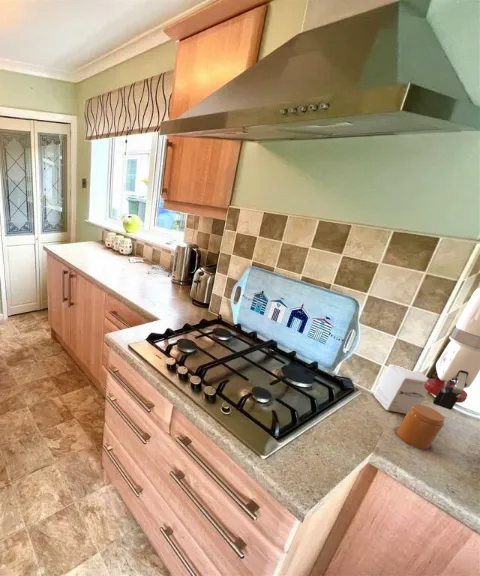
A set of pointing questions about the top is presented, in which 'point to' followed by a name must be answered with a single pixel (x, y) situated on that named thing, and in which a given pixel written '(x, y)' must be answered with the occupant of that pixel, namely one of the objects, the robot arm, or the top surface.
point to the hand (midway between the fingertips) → (440, 397)
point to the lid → (437, 385)
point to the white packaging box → (401, 389)
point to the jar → (421, 426)
